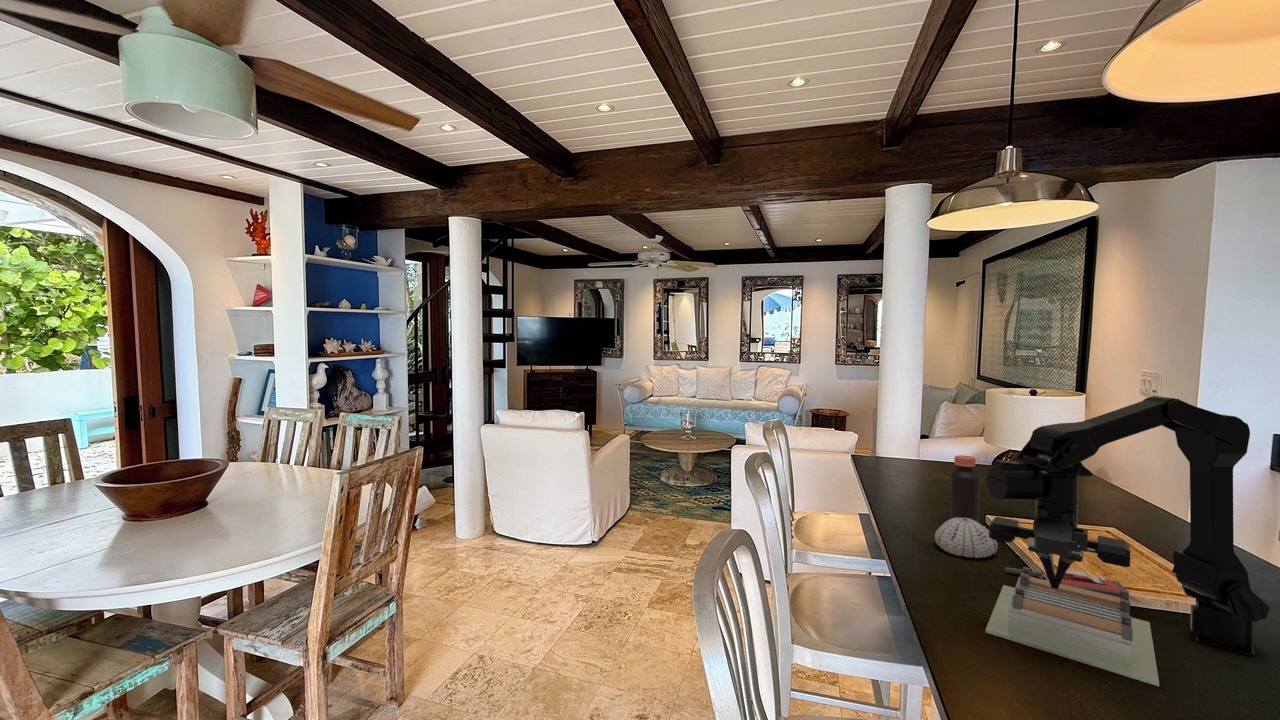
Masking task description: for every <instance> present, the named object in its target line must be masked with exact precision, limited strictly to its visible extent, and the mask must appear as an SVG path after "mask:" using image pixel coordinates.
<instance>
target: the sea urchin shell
mask: <svg viewBox="0 0 1280 720" xmlns="http://www.w3.org/2000/svg"><path fill="white" fill-rule="evenodd" d="M934 540H935V543H936V545H937V546H939V548H940V549H942V550H943V551H945V552H946V553H949V554H951V555H954V556H958V557H961V556H962V557H964V558H970V559H971V558H975V559H981V558H987V557H991V556H993V555H995V554H996V552H997V551H998V549H999V547H998V545H999V543H997V540H994V539H991V538H989V528H986V526H984V525H982V523H980V522H979V523H978V522H976V521H974V520H972V519H969V518H952V519H950V518H949V519H948V520H946V521H944V522H943V523H942V524H940V526H939V527H938V528H937V529H936V531H935V532H934Z"/></svg>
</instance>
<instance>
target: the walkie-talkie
mask: <svg viewBox="0 0 1280 720" xmlns="http://www.w3.org/2000/svg"><path fill="white" fill-rule="evenodd" d="M1004 570H1005V572H1007V573H1010V574H1012V573H1013V574H1018V575H1019V574H1020V575H1021V573H1022V572H1023V568H1021V569H1020V568H1014V567H1008V566H1006V567H1005V568H1004ZM1054 571H1055V577H1056V572H1057V570H1054ZM1043 572H1044V571H1037V570H1036V571H1035V570H1031V577H1039V578H1042V575H1043ZM1060 584H1064V585H1068V586H1073V587H1077V588H1081V589H1085V590H1090V591H1094V592H1098V593H1102V594H1107V595H1111V596H1115V597H1119V598H1120V589H1121V590H1125V591H1128V590H1127V589H1126V587H1124V586H1123V585H1122V584H1121V582H1120V581H1119V580H1118V581H1117V580H1111V579H1105V578H1104V577H1103V576H1102V575H1098V576H1097V577H1092V576H1090V575H1089V574H1087V573H1086V572H1084V571H1077V570H1070V569H1067V571H1066V572H1065V575H1064V577H1063V579H1062V581H1061V583H1060Z"/></svg>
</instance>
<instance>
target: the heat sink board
mask: <svg viewBox="0 0 1280 720" xmlns="http://www.w3.org/2000/svg"><path fill="white" fill-rule="evenodd" d="M1022 569H1023V573H1028V574H1029V576H1030V577H1032V576H1031V571H1032V570H1031V567H1028V566H1023V567H1022ZM1014 593H1016V594H1020V595H1023V598H1025V599H1029V600H1033V601H1037V602H1041V603H1045V604H1049V605H1052V606H1056V607H1060V608H1064V609H1068V610H1072V611H1076V612H1080V613H1083V614H1087V615H1091V616H1095V617H1099V618H1103V619H1107V620H1110V621H1114V622H1118V623H1122V624H1127V625H1129V626H1130V627H1127V626H1123V625H1122V634H1119V633H1115V632H1111V631H1107V630H1104V629H1100V628H1096V627H1093V626H1089V625H1085V624H1081V623H1078V622H1074V621H1070V620H1067V619H1063V618H1059V617H1055V616H1052V615H1048V614H1044V613H1041V612H1037V611H1033V610H1030V609H1026V608H1022V597H1019V596H1015V595H1014ZM1120 598H1125V599H1127V600H1124V599H1120V607H1118V606H1114V605H1109V604H1105V603H1101V602H1097V601H1093V600H1089V599H1085V598H1081V597H1077V596H1072V595H1068V594H1064V593H1060V592H1056V591H1052V590H1048V589H1044V588H1040V587H1036V586H1032V585H1028V575H1025V574H1020V575H1019V577H1018V579H1017V581H1016V584H1015V586H1014V587H1013V586H1009V585H1006V584H1003V585H1002V587H1001V590H1000V593H999V594H998V597H997V600H996V603H995V606H994V607H993V610H992V613H991V616H990V617H989V621H988V623H987V625H986V627H985V634H989V635H992V636H995V637H998V638H999V637H1000V638H1003V639H1005V640H1008V641H1012V642H1015V643H1018V644H1021V645H1025V646H1028V647H1031V648H1034V649H1037V650H1041V651H1044V652H1047V653H1050V654H1054V655H1057V656H1060V657H1063V658H1067V659H1070V660H1072V661H1076V662H1080V663H1082V664H1085V665H1089V666H1092V667H1095V668H1098V669H1100V670H1101V669H1102V670H1105V671H1108V672H1110V673H1115V674H1118V675H1121V676H1124V677H1127V678H1130V679H1134V680H1137V681H1139V682H1143V683H1146V684H1149V685H1152V686H1156V687H1160V680H1159V679H1160V678H1159V673H1158V667H1157V660H1156V654H1155V646H1154V641H1153V636H1152V629H1151V622H1149V621H1147V620H1143V619H1139V618H1134V617H1132V616H1131V615H1130V613H1131V612H1130V611H1131V601H1130V592H1129V590H1127V591H1125V590H1121V589H1120Z"/></svg>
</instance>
